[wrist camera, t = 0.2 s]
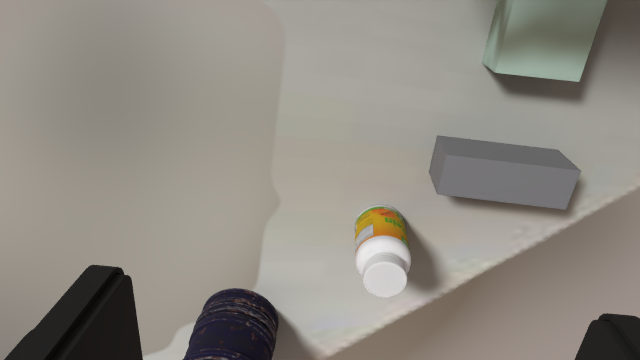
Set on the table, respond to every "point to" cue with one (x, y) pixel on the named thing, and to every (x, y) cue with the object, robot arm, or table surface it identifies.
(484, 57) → the sage block
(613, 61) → the table surface
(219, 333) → the storage jar
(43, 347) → the robot arm
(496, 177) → the gray rectangular block
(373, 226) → the supplement bottle
